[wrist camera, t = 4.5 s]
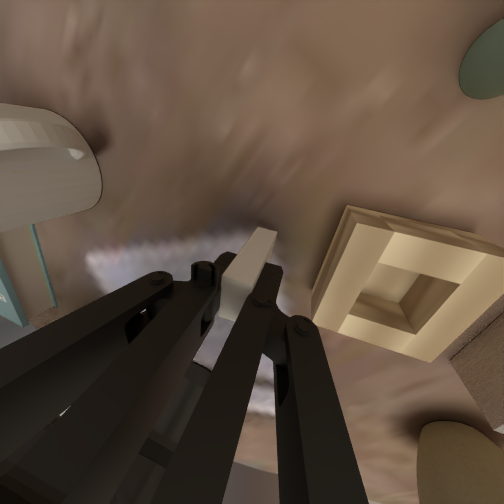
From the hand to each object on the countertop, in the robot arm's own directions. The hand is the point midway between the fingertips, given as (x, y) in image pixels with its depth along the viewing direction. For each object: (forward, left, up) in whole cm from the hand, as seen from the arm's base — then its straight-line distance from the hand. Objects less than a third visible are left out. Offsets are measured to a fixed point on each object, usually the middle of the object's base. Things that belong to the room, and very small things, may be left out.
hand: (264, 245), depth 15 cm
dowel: (+9, +12, -2) cm, 15 cm away
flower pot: (+24, -17, -2) cm, 29 cm away
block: (+9, 0, -2) cm, 9 cm away
